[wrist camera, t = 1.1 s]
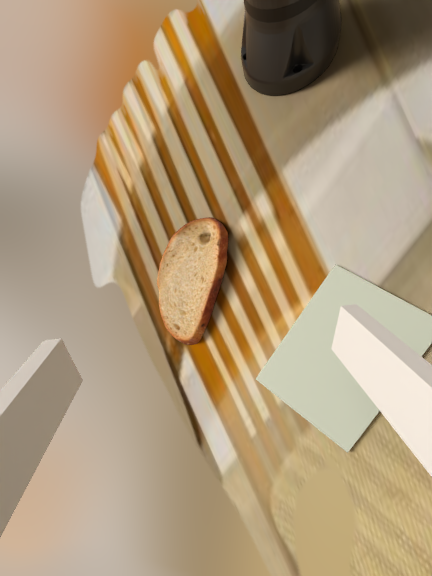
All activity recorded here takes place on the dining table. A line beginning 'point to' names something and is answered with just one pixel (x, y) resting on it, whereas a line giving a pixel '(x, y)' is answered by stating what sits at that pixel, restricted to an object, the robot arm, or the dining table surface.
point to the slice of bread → (192, 277)
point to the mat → (326, 365)
